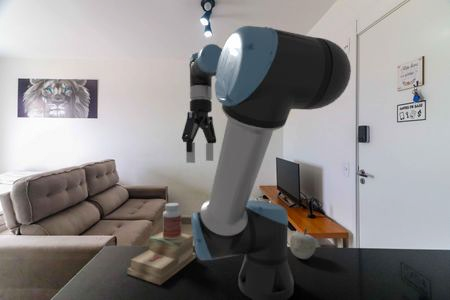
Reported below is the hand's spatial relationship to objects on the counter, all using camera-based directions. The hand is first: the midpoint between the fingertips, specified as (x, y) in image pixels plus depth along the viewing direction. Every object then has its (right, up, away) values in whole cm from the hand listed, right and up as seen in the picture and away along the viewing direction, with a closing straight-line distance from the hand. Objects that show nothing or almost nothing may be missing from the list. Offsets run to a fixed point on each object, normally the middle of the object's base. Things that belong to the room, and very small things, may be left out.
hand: (200, 161), depth 82 cm
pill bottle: (-10, -26, -2) cm, 28 cm away
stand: (-12, -34, -5) cm, 36 cm away
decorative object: (+36, -34, +1) cm, 49 cm away
